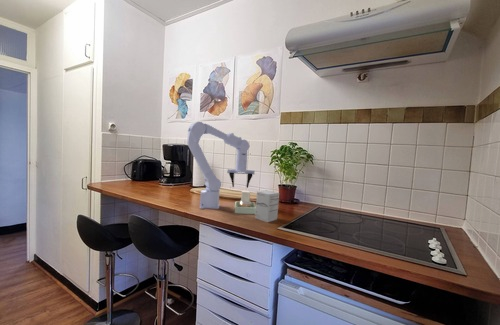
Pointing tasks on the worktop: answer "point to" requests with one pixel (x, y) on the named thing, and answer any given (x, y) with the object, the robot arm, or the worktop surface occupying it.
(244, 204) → the steel tin
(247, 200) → the cream carton
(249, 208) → the sage tote
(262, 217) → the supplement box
